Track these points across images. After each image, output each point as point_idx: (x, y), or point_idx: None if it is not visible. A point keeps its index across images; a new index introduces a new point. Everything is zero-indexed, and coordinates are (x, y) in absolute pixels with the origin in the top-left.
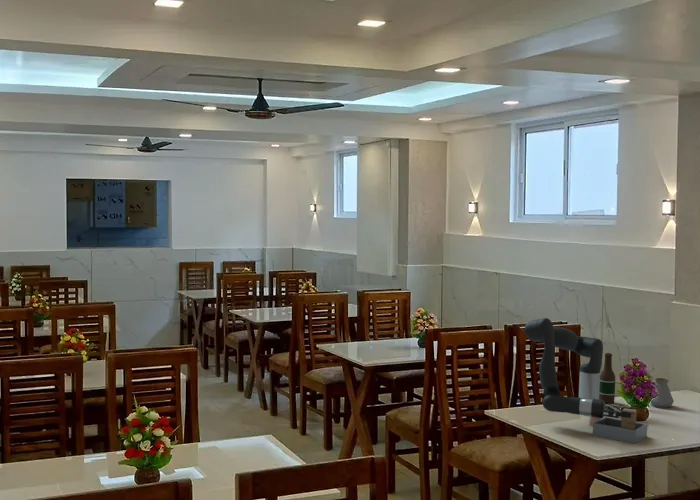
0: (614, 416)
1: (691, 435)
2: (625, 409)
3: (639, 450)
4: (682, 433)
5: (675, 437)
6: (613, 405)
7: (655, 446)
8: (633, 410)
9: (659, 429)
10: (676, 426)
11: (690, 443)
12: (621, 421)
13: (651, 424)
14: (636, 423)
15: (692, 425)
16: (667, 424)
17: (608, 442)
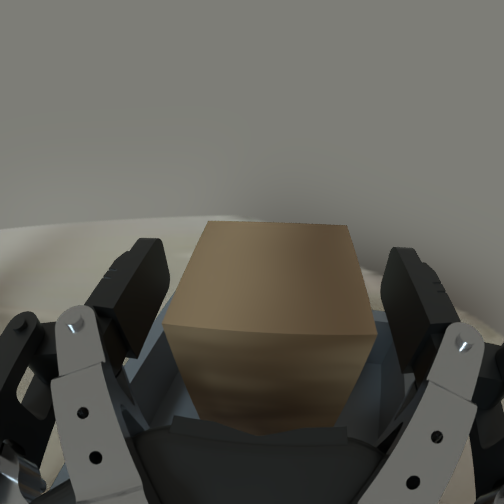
0: (500, 415)
1: (136, 223)
2: (249, 302)
3: (476, 328)
4: (114, 238)
5: (173, 249)
6: (143, 492)
7: (370, 292)
8: (258, 235)
9: (63, 287)
10: (38, 251)
11: (242, 220)
12: (338, 414)
13: (3, 305)
14: (164, 332)
15: (37, 228)
16: (15, 268)
17: (468, 482)
